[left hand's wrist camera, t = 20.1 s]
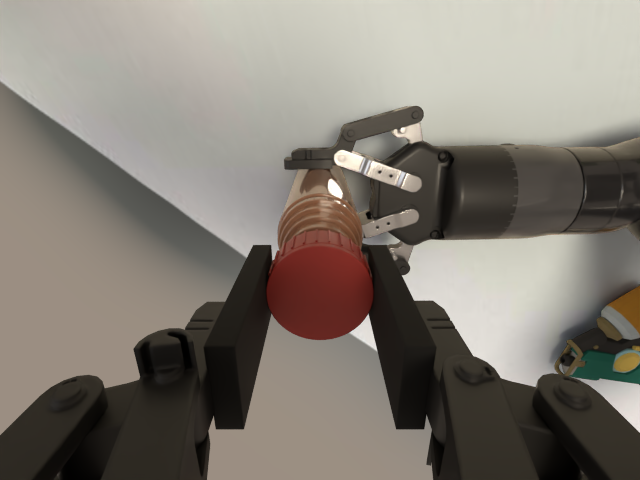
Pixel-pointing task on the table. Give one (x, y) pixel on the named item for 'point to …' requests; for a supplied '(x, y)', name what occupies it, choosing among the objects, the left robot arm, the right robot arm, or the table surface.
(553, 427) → the left robot arm
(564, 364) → the spray gun
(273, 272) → the cap
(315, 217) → the bottle
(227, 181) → the table surface
